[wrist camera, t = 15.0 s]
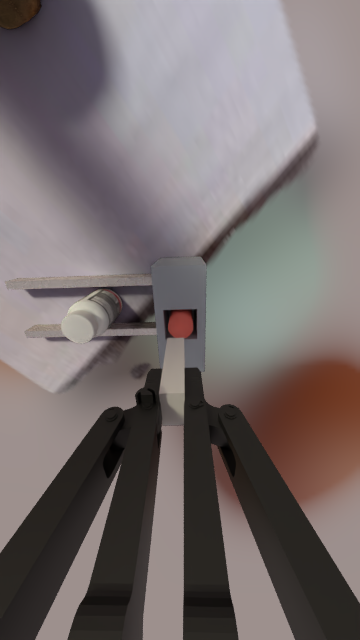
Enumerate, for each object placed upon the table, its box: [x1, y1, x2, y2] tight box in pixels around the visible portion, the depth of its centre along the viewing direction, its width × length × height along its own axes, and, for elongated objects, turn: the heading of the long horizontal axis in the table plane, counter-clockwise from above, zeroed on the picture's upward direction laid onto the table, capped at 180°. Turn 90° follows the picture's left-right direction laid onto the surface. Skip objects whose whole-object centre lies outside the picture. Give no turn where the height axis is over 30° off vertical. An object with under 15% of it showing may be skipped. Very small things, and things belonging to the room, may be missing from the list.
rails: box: [5, 274, 157, 338], centre depth 31 cm, size 23×9×2 cm, turn 92°
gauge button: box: [168, 309, 193, 338], centre depth 25 cm, size 3×3×6 cm
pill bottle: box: [61, 288, 122, 344], centre depth 28 cm, size 5×5×10 cm
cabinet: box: [151, 257, 206, 371], centre depth 28 cm, size 6×14×9 cm, turn 2°
